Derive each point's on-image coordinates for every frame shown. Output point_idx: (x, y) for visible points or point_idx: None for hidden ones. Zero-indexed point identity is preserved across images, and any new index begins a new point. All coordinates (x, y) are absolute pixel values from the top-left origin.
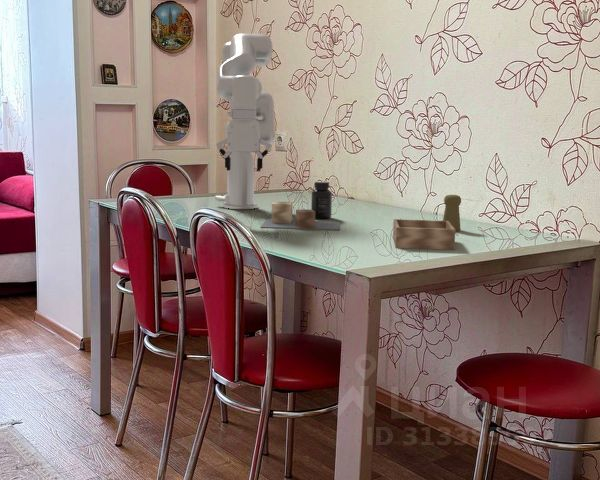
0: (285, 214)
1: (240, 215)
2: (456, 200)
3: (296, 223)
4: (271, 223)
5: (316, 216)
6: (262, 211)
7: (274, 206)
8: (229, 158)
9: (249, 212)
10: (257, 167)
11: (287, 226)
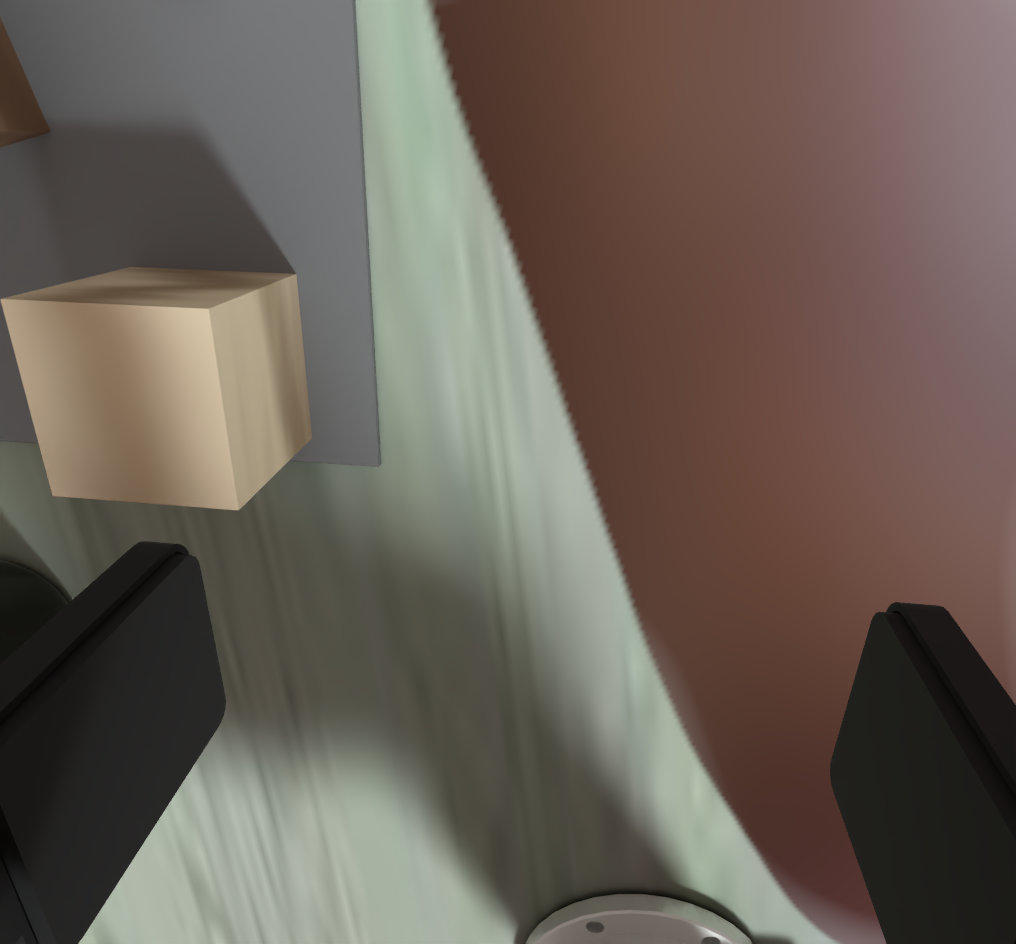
0: (128, 281)
1: (618, 671)
2: None
3: (13, 89)
4: (288, 224)
5: (14, 573)
6: (473, 843)
7: (195, 300)
8: (1003, 938)
9: (560, 801)
10: (142, 591)
11: (102, 51)
